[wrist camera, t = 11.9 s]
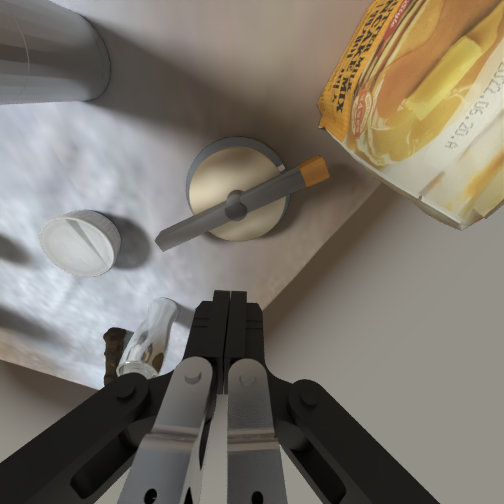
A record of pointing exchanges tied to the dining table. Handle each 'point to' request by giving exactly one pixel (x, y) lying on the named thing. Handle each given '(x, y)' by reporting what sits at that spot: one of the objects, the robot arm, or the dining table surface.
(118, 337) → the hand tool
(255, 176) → the capstan dial
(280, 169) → the dial plinth
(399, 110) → the pancake mix bag
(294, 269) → the dining table surface
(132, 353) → the beer glass
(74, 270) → the ramekin
